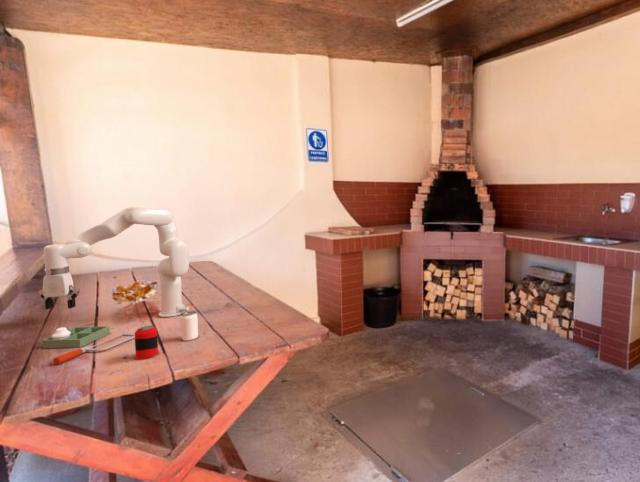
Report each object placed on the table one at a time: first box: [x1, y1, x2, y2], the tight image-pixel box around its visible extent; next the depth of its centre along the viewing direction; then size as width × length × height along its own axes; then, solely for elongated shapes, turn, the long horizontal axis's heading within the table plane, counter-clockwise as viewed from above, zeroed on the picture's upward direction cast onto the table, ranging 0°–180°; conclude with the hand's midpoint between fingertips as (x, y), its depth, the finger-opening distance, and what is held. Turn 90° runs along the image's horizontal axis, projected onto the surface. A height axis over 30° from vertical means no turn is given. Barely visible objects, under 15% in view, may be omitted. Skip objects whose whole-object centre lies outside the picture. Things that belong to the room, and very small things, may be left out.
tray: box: [41, 325, 111, 349], centre depth 183 cm, size 16×16×4 cm
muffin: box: [51, 326, 71, 340], centre depth 179 cm, size 6×6×7 cm
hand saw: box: [52, 332, 135, 365], centre depth 174 cm, size 33×3×10 cm
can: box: [180, 310, 199, 342], centre depth 184 cm, size 6×6×12 cm
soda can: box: [134, 325, 159, 360], centre depth 166 cm, size 8×8×12 cm
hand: (60, 307), depth 179 cm, fingers open, 9 cm apart
